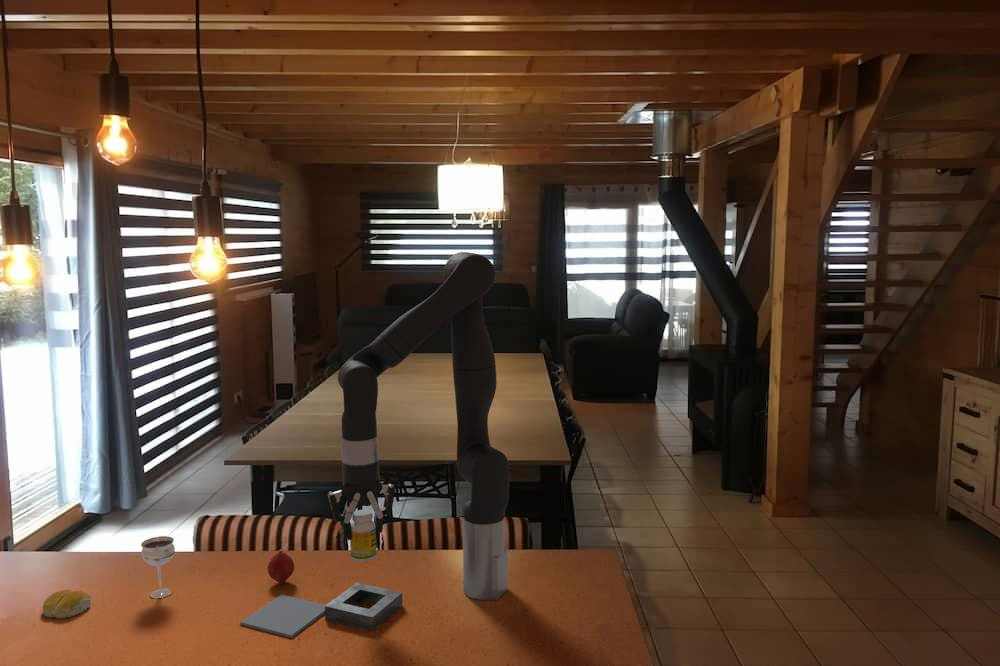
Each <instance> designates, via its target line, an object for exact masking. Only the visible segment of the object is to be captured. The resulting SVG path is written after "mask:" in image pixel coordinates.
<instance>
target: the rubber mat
mask: <svg viewBox="0 0 1000 666" xmlns="http://www.w3.org/2000/svg"><path fill="white" fill-rule="evenodd" d="M325 605H326V604H323V603H319V602H315V601H311V600H306V599H303V598H299V597H298V598H297V597H293V596H290V595H285V594H280V595H278V596H277V597H276V598H274V599H273V600H270V601H269V602H268V603H266V604H265V605H263V606H262V607H261V608H258V610H256V611H255V612H253V613H251V614H250V615H248V616H247V617H245V618H244V619H242V620H241V621H239V625H240V626H244V627H247V628H251V629H256V630H259V631H262V632H266V633H270V634H274V635H278V636H283V637H285V638H289V639H293V638H294V637H295V636H297V635H298V634H299V633H301V632H302V631H303V630H305V629H306V628H307V627H309V626H310V625H311V624H313V623H314V622H316V621H317V620H318V619H319V618H321V617H322V616H323V615H324V614H325Z"/></svg>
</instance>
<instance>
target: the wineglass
mask: <svg viewBox="0 0 1000 666" xmlns="http://www.w3.org/2000/svg"><path fill="white" fill-rule="evenodd" d="M174 541H175V539H174V537H171V536H166V535H162V536H161V535H160V536H155V537H150V538H148V539H145V540H143V541H142V542H141V544H140V546H141V548H142V549H141V554H140V556H141V558H142V559H143V560H142V561H144V562H145V563H147V565H149V566H151V567H152V566H155V567H154V568H157V577H158V585H159V590H158V589H156V591H155V590H154V592H153V591H151V592H152V593H151V592H150V593H151V594H150V593H149V594H150V596H151V597H152V598H162V599H164V598H163V597H165V596H167V595H169V594H171V590H172V589H171V590H169V589H170V588H162V567H163V565H165V564H168V563H169V561H171V559H172V558H173V557H174V555H175V550H176V548H175V545H174ZM171 595H172V594H171Z"/></svg>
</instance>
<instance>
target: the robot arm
mask: <svg viewBox="0 0 1000 666" xmlns="http://www.w3.org/2000/svg"><path fill="white" fill-rule="evenodd" d="M495 279H496V270H495V267H494V264H493V263H492V261H491V260H490V259H488V258H487V257H486V256H485V255H481V254H478V253H474V252H468V251H467V252H465V251H461V252H456V253H455V254H453V255H452V256H450V257H449V259H448V260H447V261H446V263H445V265H444V268H443V280H444V281H443V283H442V284H441V285H440V287H439V288H438V289H437V290H436V291H434V292H433V293H432V294H431V295H430V296H429V297H428V298H426V299H425V300H424V301H422V302H420V303H418V304H417V305H416V306H415V307H413V308H411V309H410V310H408V311H407V312H405V313H404V314H402V315H401V316H399V317H398V318H397V319H396V320H395V321H394V322H392V323H391V324H390V325H389V326H388V327H387V328H386V329H384V330H383V331H382V332H381V333H380V334H379V335H378V336H377V337H376V338H375V340H373V341H372V342H371V343H370V344H368V345H367V346H365V347H363V348H362V349H361V350H359V351H357V352H356V353H355V354H353V355H352V356H350V358H349V359H347V360H346V362H345V363H344V364H342V366H341V367H340V368H339V371H338V374H337V382H338V384H339V386H340V387H341V389H342V394H343V396H342V397H343V411H342V414H341V449H340V451H341V453H340V458H341V470H342V472H341V473H342V484H341V487H340V490H336V491H333V490H332V491H331V490H330V491H328V492H327V497H328V502H329V505H330V509H331V510H330V511H331V512H332V517H333V519H334V521H335V522H336V523H342V534H343V536H344V538H345V539H347V541H350V540H351V523H352V522H351V520H352V518H353V513H354V512H355V511H356V509H359V508H361V507H371V508H372V509H373V512H374V516H373V521H374V522H375V524H376V537H378V536H381V533H383V531H384V529H383V528H384V527H383V526H384V524H383V523H384V522H383V521H384V520H383V518H384V517H385V516H386V515H388V516H389V515H391V514H392V509H393V504H394V498H395V494H396V493H395V492H396V488H395V486H394V484H392V483H389V482H388V484H382V483H381V475H380V451H379V447H380V446H379V441H378V440H379V439H378V432H377V431H378V429H377V427H378V426H377V425H378V424H377V406H378V397H379V396H378V395H379V394H378V393H379V387H378V385H379V384H378V383H379V382H378V381H379V380H378V377H379V376H381V375H382V374H383V373H384V372H385V371H387V370H388V369H391V368H395V367H398V365H400V364H401V363H402V362H403V360H405V359H406V358H408V356H410V355H411V353H413V352H414V351H415V350H416V349H417V348H418V347H419V346H420V345H421V344H422V343H423V342H424V341H425V340H427V338H428V337H430V336H431V335H432V334H433V333H435V332H436V330H437V329H439V328H440V327H441V326H443V325H444V324H445V323H446V322H447V321H449V320H450V334H451V335H450V336H451V357H452V373H453V375H452V376H453V385H454V386H453V387H454V396H455V397H454V398H455V410H456V421H457V422H456V423H457V425H456V426H457V432H456V433H457V438H456V439H457V441H456V443H457V444H456V466H457V471H458V473H459V475H460V477H461V478H462V479H463V480H464V481H465V482H466V483H469V484H470V485H471V497H470V500H468V501H466V502H465V503H464V504H463V506H462V507H463V508H462V517H463V518H462V540H463V541H462V542H463V543H462V545H463V546H462V547H463V548H462V556H463V557H462V559H463V561H462V563H463V565H462V566H463V568H462V569H463V572H462V573H463V576H462V577H463V578H462V579H463V581H462V584H463V593H464V595H465V596H467V597H469V598H471V599H474V600H480V601H486V600H487V601H489V600H495V601H498V600H499V599H500V598H501V597H502V596H503V595H504V594H505V592H506V591H507V590H508V589H509V549H508V547H506V545H505V544H506V543H505V542H506V541H505V540H506V539H505V537H506V536H505V535H506V534H505V533H506V530H505V529H506V527H505V526H506V525H505V524H506V523H505V521H506V509H507V507H508V505H509V497H510V480H511V479H510V478H511V477H510V476H511V474H510V463H509V459H508V458H507V456H506V455H505V454H504V453H503V452H502V451H500V450H498V449H497V448H495V447H492V446H491V442H490V435H489V427H488V426H489V424H488V418H489V413H490V410H491V407H492V403H493V401H494V398H495V395H496V391H497V368H496V365H497V364H496V358H495V352H494V347H493V344H492V342H491V341H492V340H491V337H490V335H489V332H488V329H487V326H486V322H485V318H484V310H483V296H484V295H486V294H487V293H488V292H489V291H490V290H491V288H493V285H494V283H495ZM381 492H382V493H383V495H384V501H383V506H382V507H380V505H379V503H378V502H377V499H378V497H379V495H380V494H381ZM341 497H343V498H344V499H345V500H346V503H345V505H344V510H343V513H340V509H339V506H338V503H339V502H341V501H340V499H341Z"/></svg>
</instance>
